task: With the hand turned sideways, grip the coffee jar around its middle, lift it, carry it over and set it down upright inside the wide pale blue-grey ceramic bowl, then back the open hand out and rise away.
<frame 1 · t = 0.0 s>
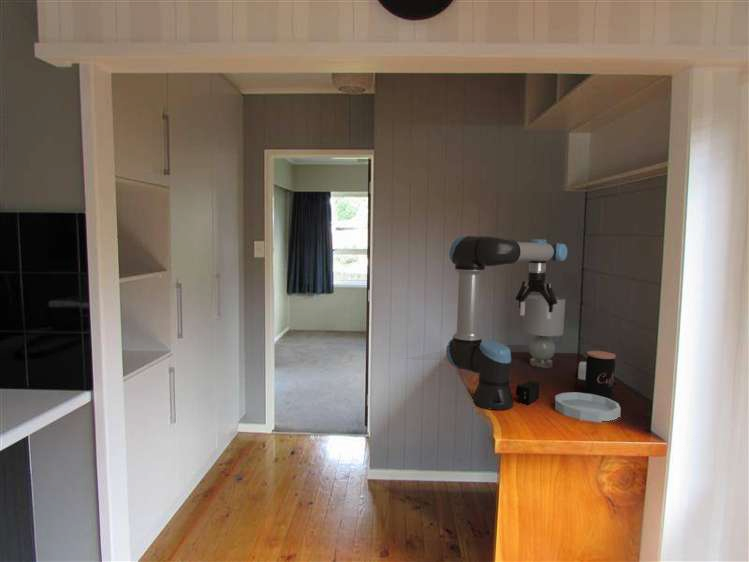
hand: (534, 317, 221), 28 cm above the countertop, tool pointing down, fingers open, 13 cm apart
coffee jar: (598, 397, 193), on the countertop
skincare box: (585, 379, 219), on the countertop
digital camera: (527, 401, 186), on the countertop
bowl: (586, 410, 176), on the countertop
lamp: (541, 365, 242), on the countertop
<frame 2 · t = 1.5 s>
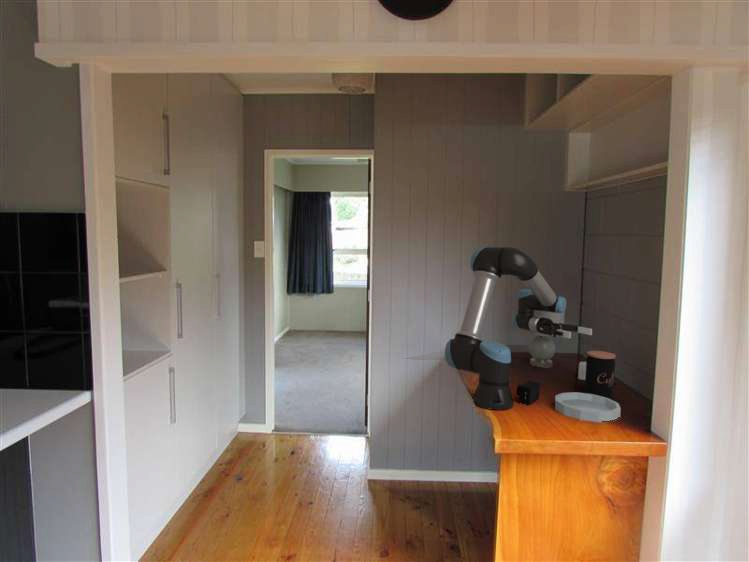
hand: (581, 333, 199), 25 cm above the countertop, tool horizontal, fingers open, 13 cm apart
nothing on the countertop moved.
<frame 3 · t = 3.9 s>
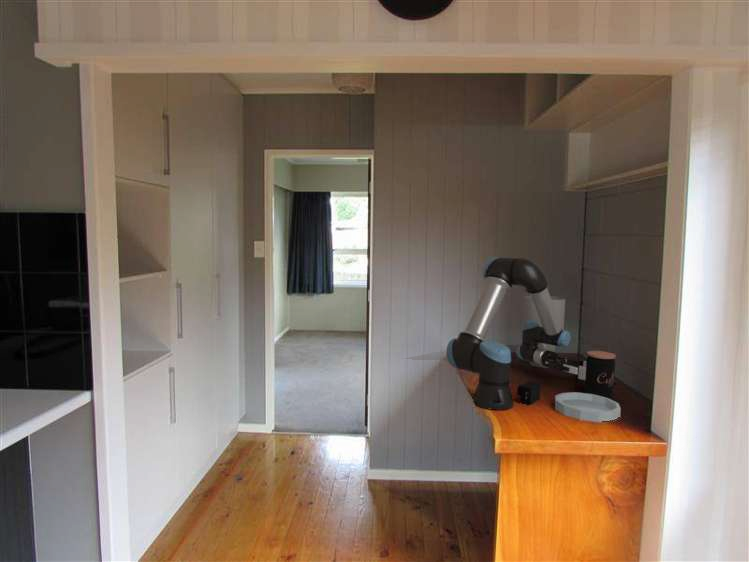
hand: (587, 369, 198), 10 cm above the countertop, tool horizontal, fingers open, 13 cm apart
nothing on the countertop moved.
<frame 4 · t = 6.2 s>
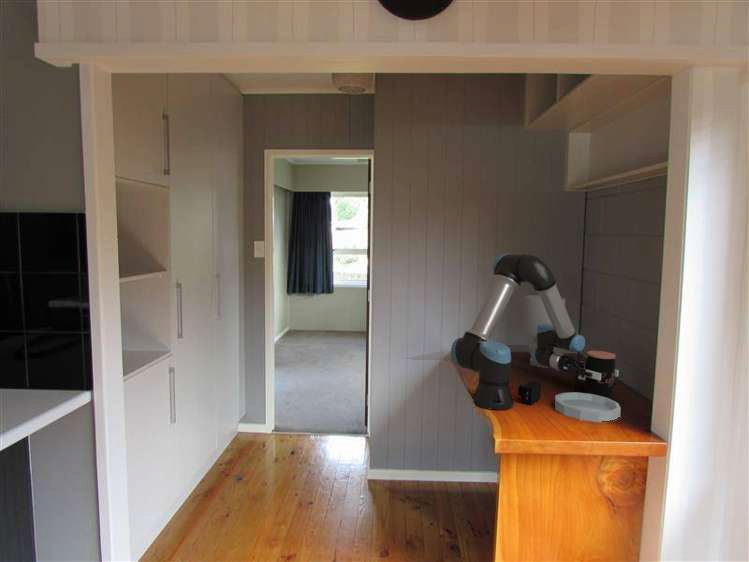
hand: (609, 375, 189), 10 cm above the countertop, tool horizontal, fingers closed on coffee jar, 11 cm apart
coffee jar: (598, 397, 193), on the countertop, touching gripper
everything else where it was.
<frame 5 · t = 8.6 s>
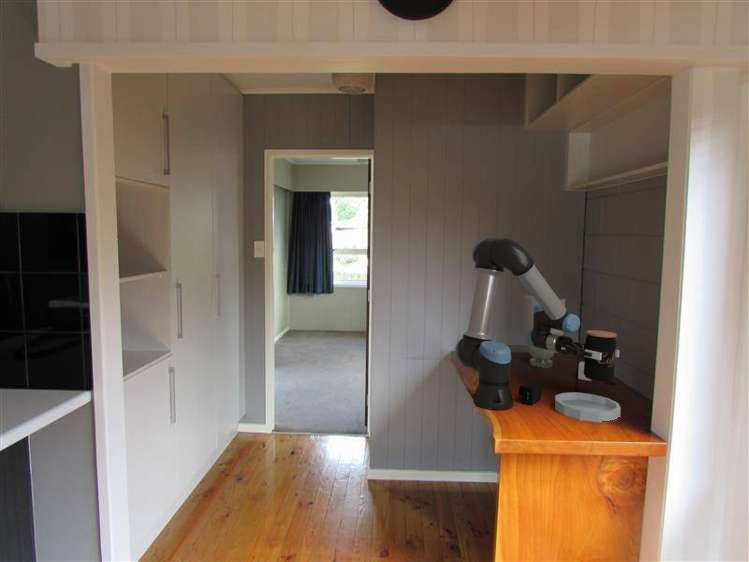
hand: (609, 355, 178), 20 cm above the countertop, tool horizontal, fingers closed on coffee jar, 11 cm apart
coffee jar: (598, 378, 182), point 10 cm above the countertop, touching gripper
everything else where it was.
when the fingers open (12 cm above the countertop, at t = 11.2 s): coffee jar drops 1 cm, resting on bowl.
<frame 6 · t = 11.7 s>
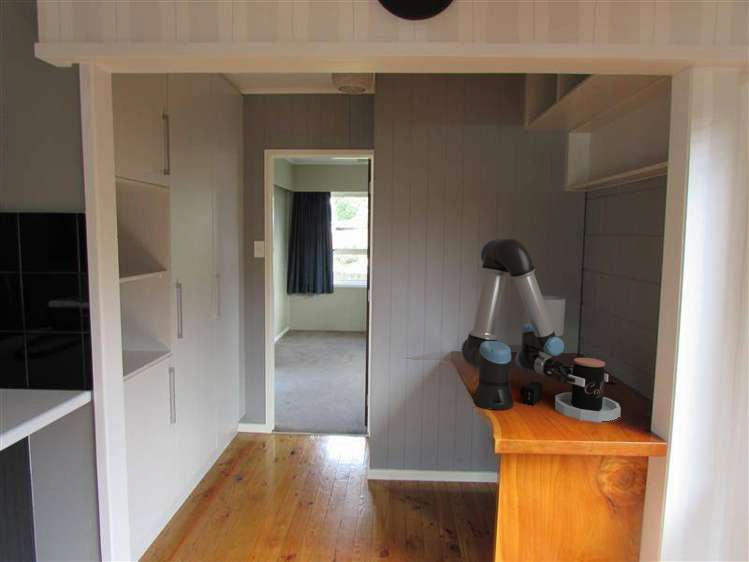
hand: (596, 380, 172), 12 cm above the countertop, tool horizontal, fingers open, 13 cm apart
coffee jar: (586, 408, 176), point 1 cm above the countertop, touching bowl
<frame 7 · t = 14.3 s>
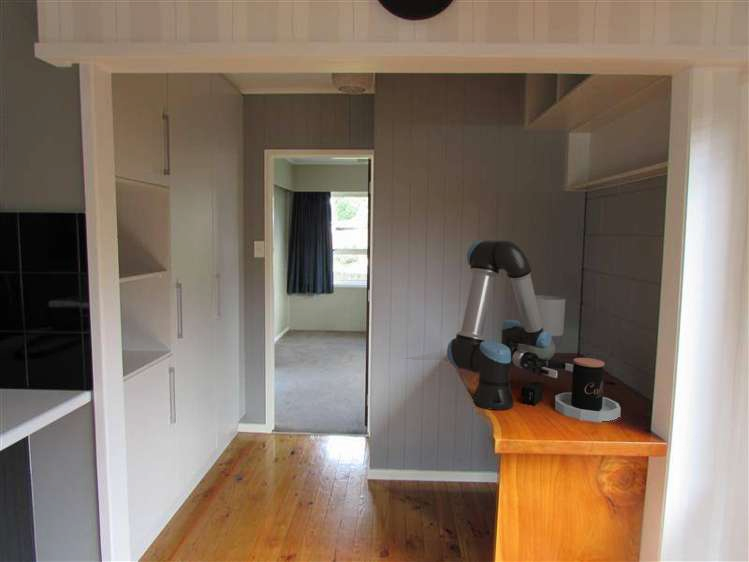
hand: (568, 372, 182), 13 cm above the countertop, tool horizontal, fingers open, 13 cm apart
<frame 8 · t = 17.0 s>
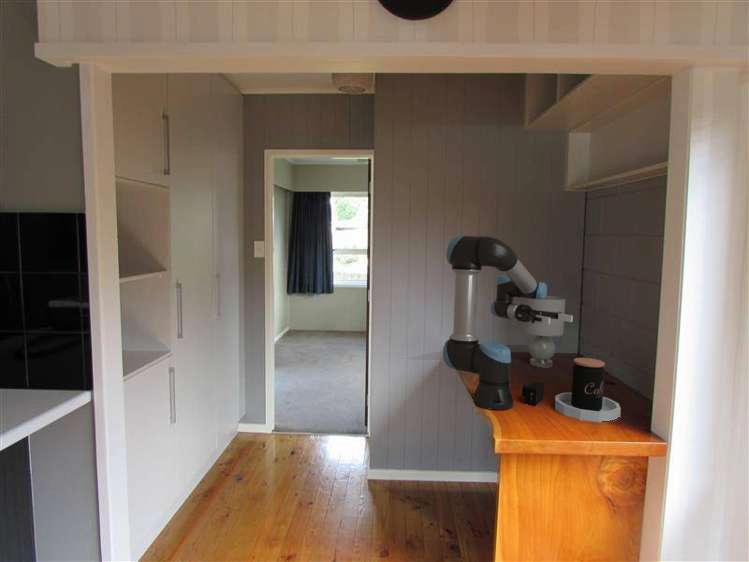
hand: (561, 319, 188), 32 cm above the countertop, tool horizontal, fingers open, 13 cm apart
at the end: coffee jar inside the target area on the bowl (0.1 cm from its centre), point 0.8 cm above the bowl's base; coffee jar tilted 0°; the gripper is holding nothing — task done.
